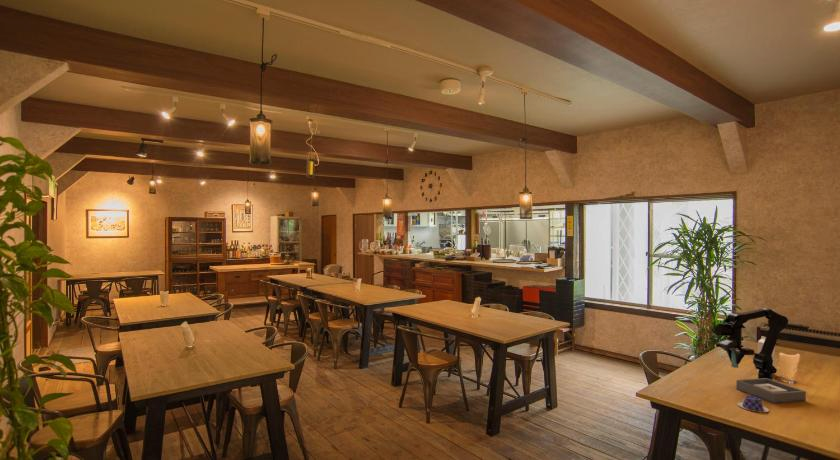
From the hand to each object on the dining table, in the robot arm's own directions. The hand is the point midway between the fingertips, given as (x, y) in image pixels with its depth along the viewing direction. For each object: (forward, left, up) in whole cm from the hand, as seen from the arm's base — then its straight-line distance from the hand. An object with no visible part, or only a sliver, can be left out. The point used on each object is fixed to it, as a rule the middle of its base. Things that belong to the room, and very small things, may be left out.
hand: (734, 363), depth 245 cm
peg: (0, 0, -2) cm, 2 cm away
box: (0, +20, -11) cm, 23 cm away
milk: (-33, -9, -11) cm, 36 cm away
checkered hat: (+25, +32, -11) cm, 42 cm away
